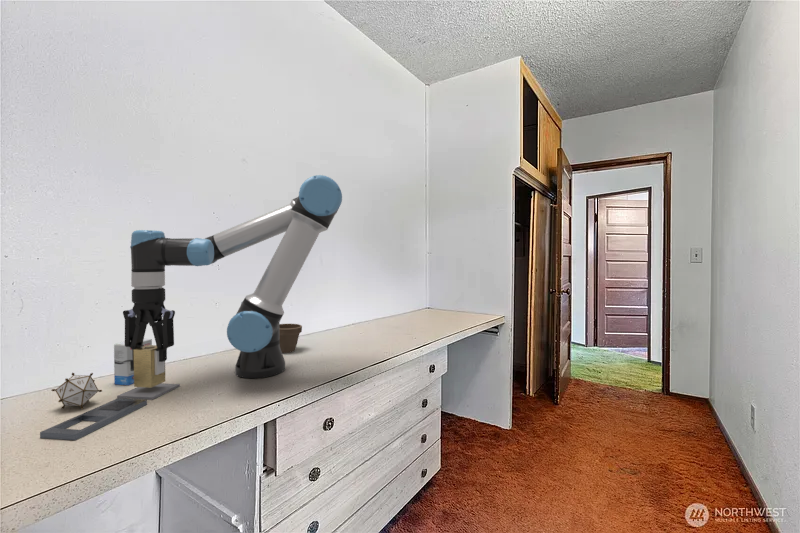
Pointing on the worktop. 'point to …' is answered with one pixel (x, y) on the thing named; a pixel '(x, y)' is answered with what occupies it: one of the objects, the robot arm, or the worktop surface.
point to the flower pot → (289, 337)
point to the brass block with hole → (146, 368)
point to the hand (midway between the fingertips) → (149, 372)
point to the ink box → (125, 363)
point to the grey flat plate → (93, 419)
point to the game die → (77, 390)
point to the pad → (148, 391)
